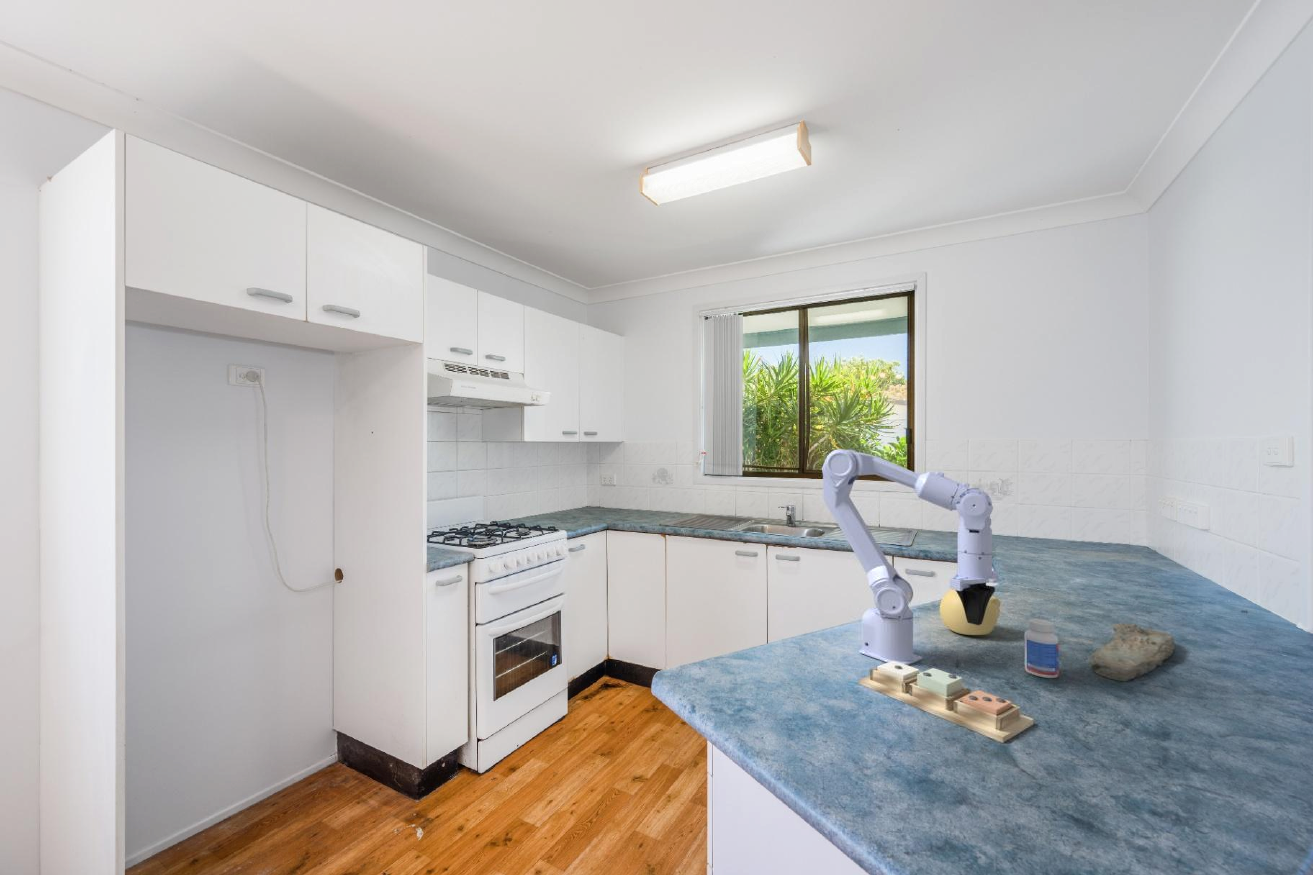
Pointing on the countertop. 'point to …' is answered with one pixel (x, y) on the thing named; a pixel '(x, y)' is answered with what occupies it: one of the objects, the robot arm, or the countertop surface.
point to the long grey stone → (1131, 652)
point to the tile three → (987, 702)
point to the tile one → (898, 670)
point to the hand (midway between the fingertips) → (974, 623)
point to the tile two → (939, 682)
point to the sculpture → (956, 617)
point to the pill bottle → (1041, 649)
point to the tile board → (950, 706)
